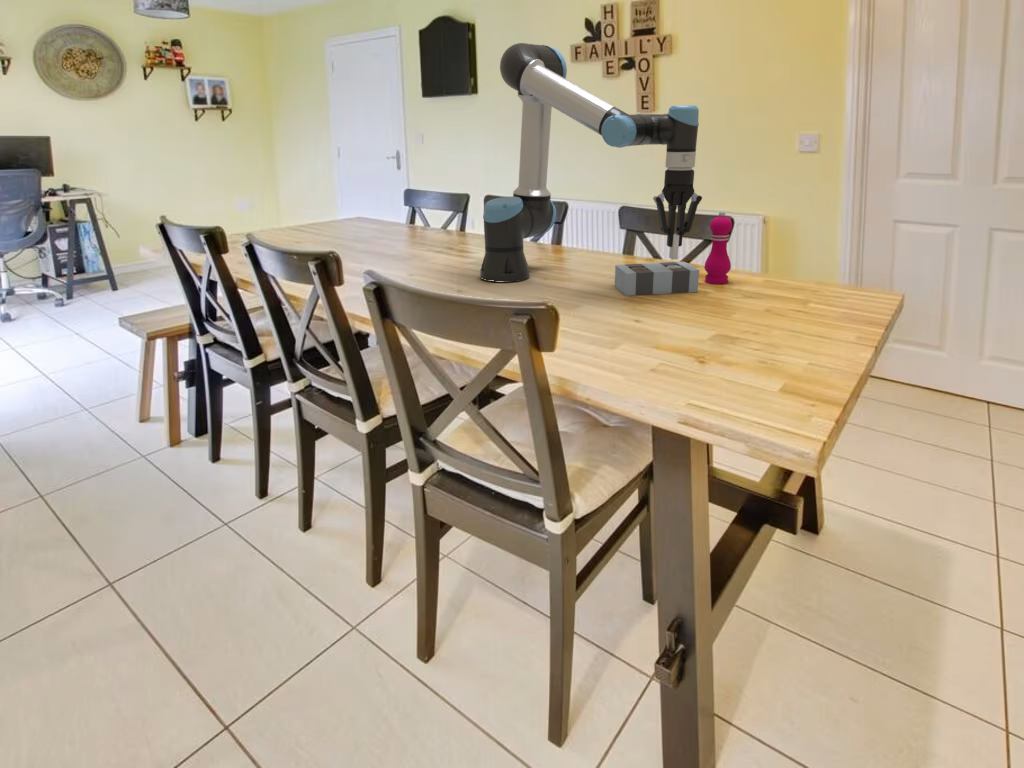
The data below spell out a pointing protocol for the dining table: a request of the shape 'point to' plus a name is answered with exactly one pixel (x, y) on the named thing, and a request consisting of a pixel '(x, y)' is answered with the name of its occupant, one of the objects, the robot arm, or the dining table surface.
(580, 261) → the dining table surface
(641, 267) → the walnut peg
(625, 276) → the socket block
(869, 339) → the dining table surface
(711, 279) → the pepper mill
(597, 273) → the dining table surface
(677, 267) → the grey metal peg
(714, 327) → the dining table surface
